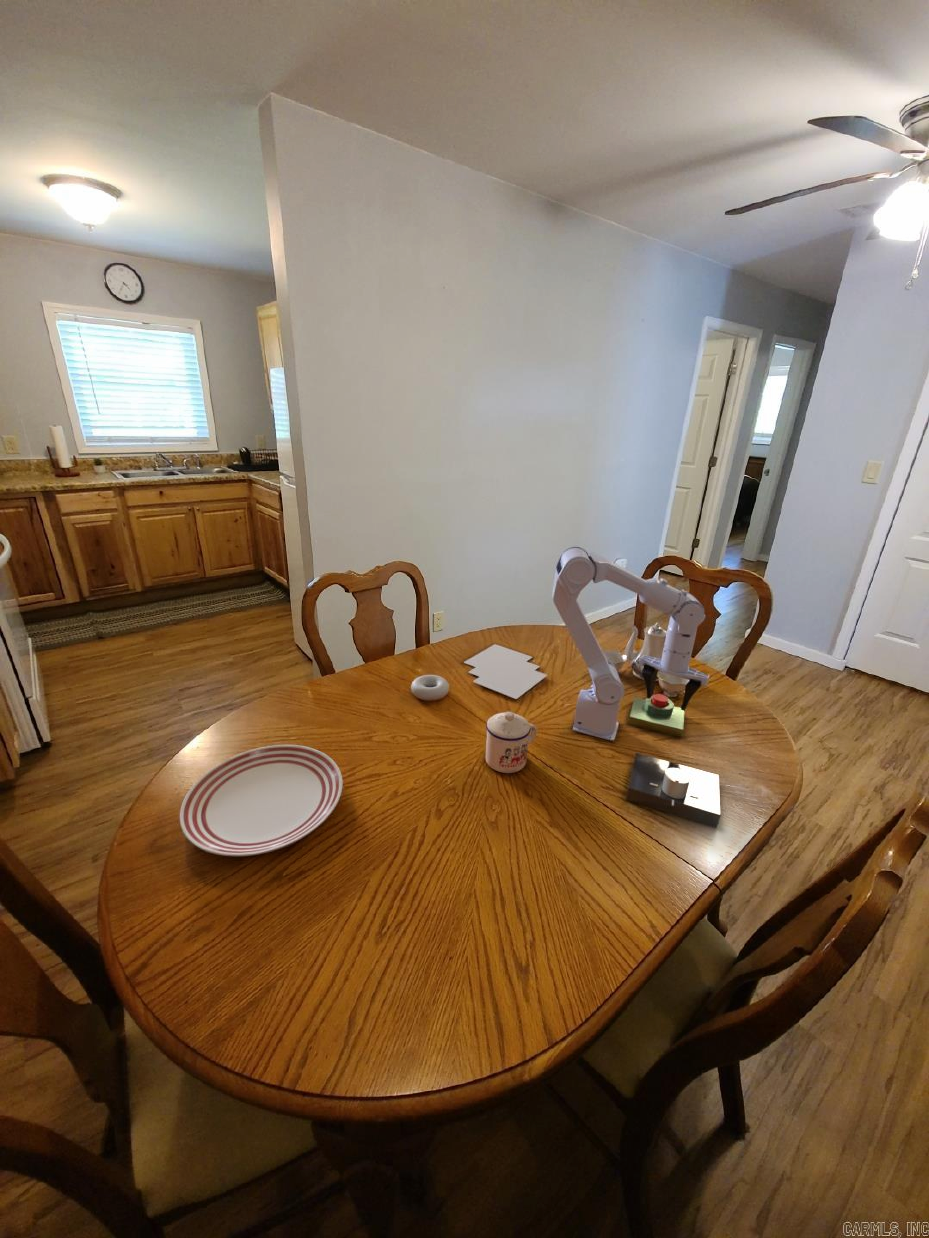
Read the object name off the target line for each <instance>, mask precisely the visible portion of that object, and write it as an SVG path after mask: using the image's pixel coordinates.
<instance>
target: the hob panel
mask: <svg viewBox="0 0 929 1238" xmlns="http://www.w3.org/2000/svg"><path fill="white" fill-rule="evenodd" d="M633 758H634V759H633V764H632V768H631V773H630V778H629V783H628V787H627V791H626V797H625V800H626V801H628V802H631V803H635V804H638V805H641V806H644V807H647V808H651V809H653V810H657V811H661V812H664V813H667V814H671V815H674V816H677V817H680V818H684V819H687V820H690V821H693V822H696V823H700V824H703V825H707V826H709V827H712V828H716V829H718V826H719V823H720V819H721V815H722V814H721V813H722V812H721V791H720V790H721V789H720V788H721V786H720V775H719V774H716V773H714V772H713V773H712V772H709V771H705V770H701V769H697V768H694V767H691V766H687V765H683V764H679V763H675V762H672V761H668V760H664V759H661V758H657V757H654V756H650V755H647V754H643V753H639V752H635V753H634V757H633ZM668 768H678V769H681V770H683V771H685V772H686V773H687V774H688V775H689V776H690V783H689V787H688V790H687V794H686V796H685V797H684V798H682V799H676V798H672V797H670V796H668V795H666V794H665V793H664V792H663V790H662V784H663V779H664V775H665V771H666V770H667V769H668Z"/></svg>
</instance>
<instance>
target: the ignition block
mask: <svg viewBox="0 0 929 1238" xmlns="http://www.w3.org/2000/svg"><path fill="white" fill-rule="evenodd" d="M653 695H654V694H653ZM653 695H652V697H651V698H650V699H649V698H647V696H646V697H645V698H640V697H637V696H634V697H633V700H632V701H633V702H632V706H631V709H630V713H629V717H628V722H627V723H628V725H630V726H634V727H638V728H642V729H646V730H650V731H653V732H658V733H662V734H665V735H670V736H674V737H678V738H682V737H683V733H684V724H685V713H686V712H685V711H686V709H685V710H684V711H683V710H681V707H680V706H675V703H674V702H673V701H672V700H671V699H669V698H668V704H667V706H666V707H660V706H656V705H654V704H652V698H653Z"/></svg>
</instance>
